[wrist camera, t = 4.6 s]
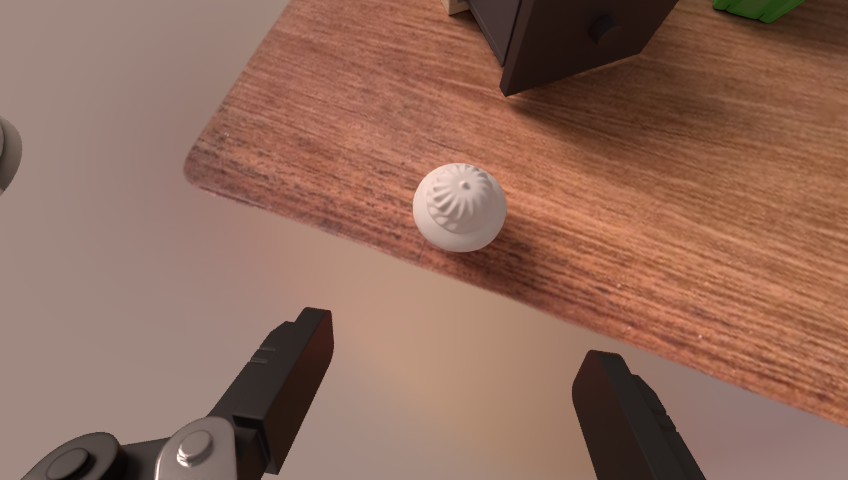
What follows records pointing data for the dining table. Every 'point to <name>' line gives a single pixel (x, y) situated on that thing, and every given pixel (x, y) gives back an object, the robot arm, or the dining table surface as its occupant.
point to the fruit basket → (757, 8)
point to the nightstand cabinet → (454, 6)
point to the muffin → (459, 207)
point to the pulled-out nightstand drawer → (564, 35)
